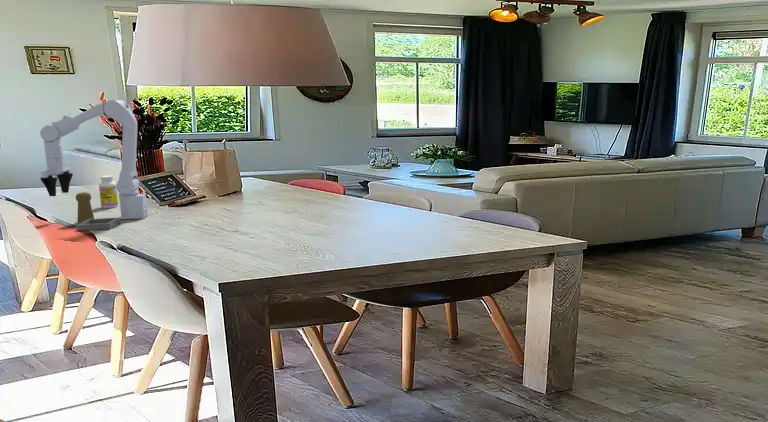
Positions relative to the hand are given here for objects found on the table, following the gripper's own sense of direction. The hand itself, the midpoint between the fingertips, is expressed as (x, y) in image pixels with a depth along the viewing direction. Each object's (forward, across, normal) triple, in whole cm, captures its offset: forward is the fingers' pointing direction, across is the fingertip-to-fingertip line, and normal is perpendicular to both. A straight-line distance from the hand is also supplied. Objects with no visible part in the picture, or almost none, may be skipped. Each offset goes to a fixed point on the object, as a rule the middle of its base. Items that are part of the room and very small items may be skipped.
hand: (59, 194), depth 257 cm
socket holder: (+10, +10, +21) cm, 26 cm away
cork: (+10, +2, +11) cm, 15 cm away
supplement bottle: (+10, -29, +2) cm, 31 cm away
